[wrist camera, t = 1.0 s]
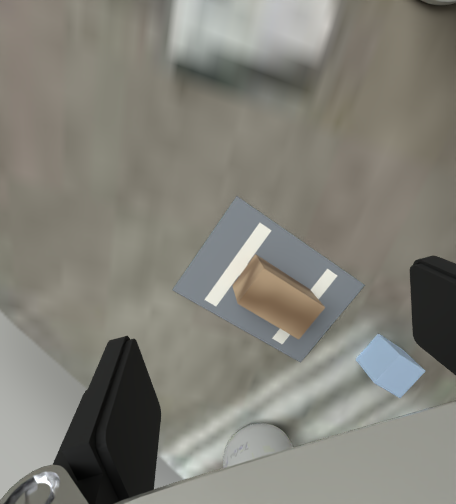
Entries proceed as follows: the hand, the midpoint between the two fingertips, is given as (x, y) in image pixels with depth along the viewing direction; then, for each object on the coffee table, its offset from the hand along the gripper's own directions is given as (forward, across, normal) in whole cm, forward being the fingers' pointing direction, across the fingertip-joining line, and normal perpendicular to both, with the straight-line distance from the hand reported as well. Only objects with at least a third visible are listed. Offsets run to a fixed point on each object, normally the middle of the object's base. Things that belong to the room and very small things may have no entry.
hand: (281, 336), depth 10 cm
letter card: (+28, -5, +12) cm, 31 cm away
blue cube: (+28, -18, +26) cm, 43 cm away
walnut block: (+28, -5, +12) cm, 31 cm away
